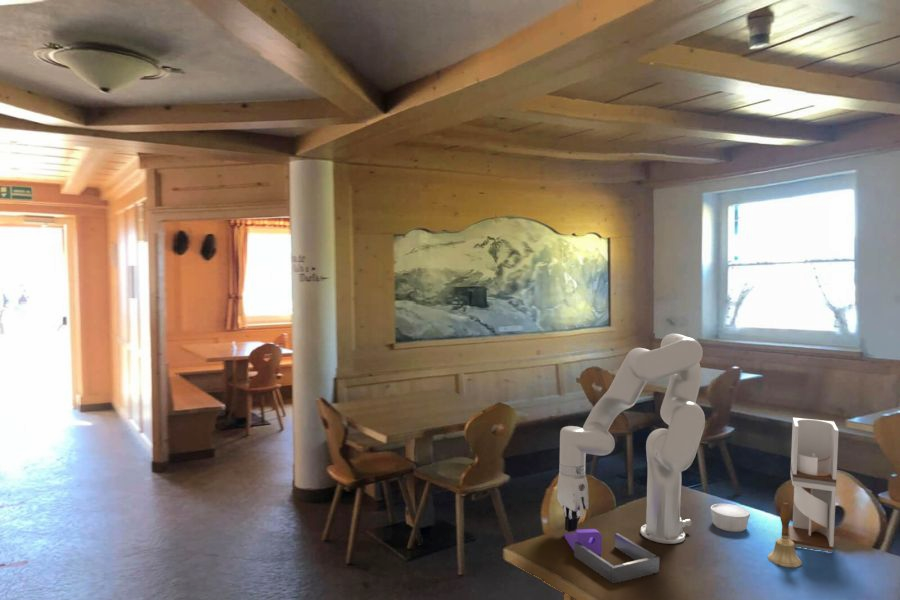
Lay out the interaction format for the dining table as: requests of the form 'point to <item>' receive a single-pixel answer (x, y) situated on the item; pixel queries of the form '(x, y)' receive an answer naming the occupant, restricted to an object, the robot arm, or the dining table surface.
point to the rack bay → (626, 571)
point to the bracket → (586, 539)
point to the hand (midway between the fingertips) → (570, 529)
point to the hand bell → (785, 543)
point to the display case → (813, 483)
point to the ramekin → (730, 517)
